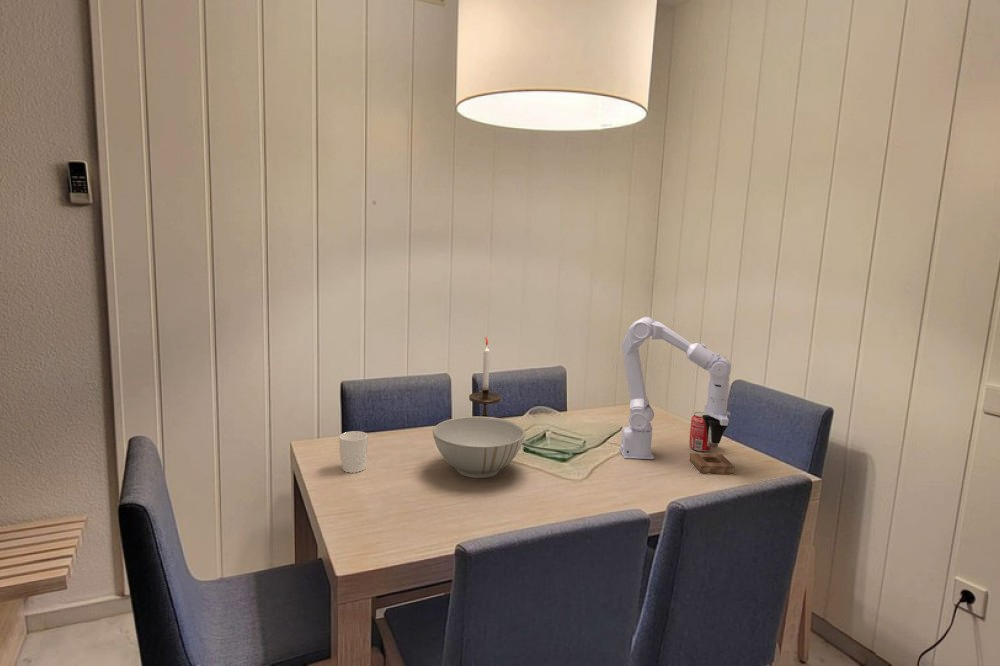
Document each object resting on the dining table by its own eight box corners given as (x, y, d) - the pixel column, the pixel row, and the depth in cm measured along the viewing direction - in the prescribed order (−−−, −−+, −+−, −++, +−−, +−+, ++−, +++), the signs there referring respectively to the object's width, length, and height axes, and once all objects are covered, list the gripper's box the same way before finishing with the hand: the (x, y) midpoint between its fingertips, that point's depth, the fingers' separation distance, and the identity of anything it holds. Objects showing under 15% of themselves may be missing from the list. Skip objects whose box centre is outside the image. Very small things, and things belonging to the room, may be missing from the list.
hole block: (700, 473, 174) (700, 465, 174) (689, 460, 184) (690, 453, 184) (733, 474, 174) (734, 466, 174) (721, 461, 184) (721, 454, 184)
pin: (710, 447, 176) (711, 428, 175) (705, 444, 179) (707, 425, 178) (719, 447, 177) (721, 428, 176) (715, 444, 180) (716, 425, 179)
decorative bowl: (514, 494, 156) (516, 451, 154) (419, 482, 162) (419, 441, 160) (530, 458, 182) (531, 420, 180) (447, 449, 188) (448, 412, 186)
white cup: (333, 470, 168) (333, 437, 167) (352, 461, 175) (352, 429, 173) (355, 476, 165) (354, 442, 163) (373, 467, 172) (373, 434, 170)
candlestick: (464, 433, 203) (467, 333, 197) (494, 431, 206) (497, 333, 201) (472, 444, 193) (475, 339, 187) (504, 441, 196) (507, 338, 190)
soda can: (708, 445, 198) (711, 411, 196) (713, 453, 191) (716, 418, 189) (686, 444, 199) (689, 410, 197) (691, 452, 192) (694, 416, 190)
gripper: (740, 404, 168) (736, 449, 171) (721, 391, 183) (717, 433, 185) (716, 404, 168) (711, 449, 171) (699, 390, 183) (695, 432, 185)
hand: (713, 440), depth 178 cm, fingers closed on pin, 3 cm apart
